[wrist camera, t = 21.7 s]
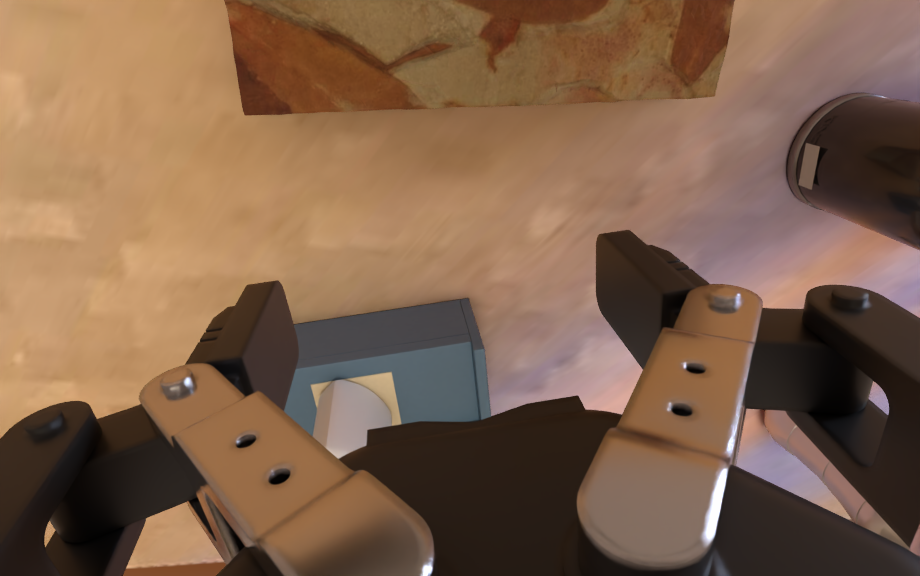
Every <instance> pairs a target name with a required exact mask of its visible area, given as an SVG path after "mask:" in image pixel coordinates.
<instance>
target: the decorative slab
mask: <svg viewBox="0 0 920 576" xmlns="http://www.w3.org/2000/svg"><path fill="white" fill-rule="evenodd" d="M224 1H225V4H226V7H227V11H228V16H229V23H230V29H231V35H232V41H233V51H234V58H235V63H236V69H237V76H238V83H239V89H240V95H241V101H242V107H243V111H244V114H245V115H282V114H292V113H315V112H350V111H367V110H387V109H431V108H445V107H488V106H526V105H550V104H572V103H587V102H617V101H623V100H643V99H691V98H702V97H713V96H715V92H716V88H717V83H718V79H719V75H720V71H721V67H722V64H723V61H724V57H725V52H726V48H727V43H728V38H729V32H730V23H731V17H732V10H733V5H734V0H224Z"/></svg>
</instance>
